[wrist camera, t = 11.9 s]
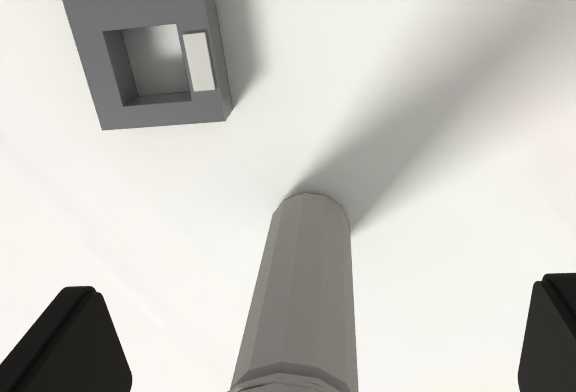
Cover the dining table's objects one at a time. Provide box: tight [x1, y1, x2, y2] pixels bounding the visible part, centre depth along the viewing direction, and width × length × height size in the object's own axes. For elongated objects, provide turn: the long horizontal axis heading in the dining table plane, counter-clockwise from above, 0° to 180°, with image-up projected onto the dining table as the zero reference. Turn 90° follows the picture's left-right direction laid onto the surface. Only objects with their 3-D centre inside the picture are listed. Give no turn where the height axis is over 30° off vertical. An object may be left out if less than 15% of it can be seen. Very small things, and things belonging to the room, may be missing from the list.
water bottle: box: [228, 193, 358, 392], centre depth 31 cm, size 9×8×25 cm
